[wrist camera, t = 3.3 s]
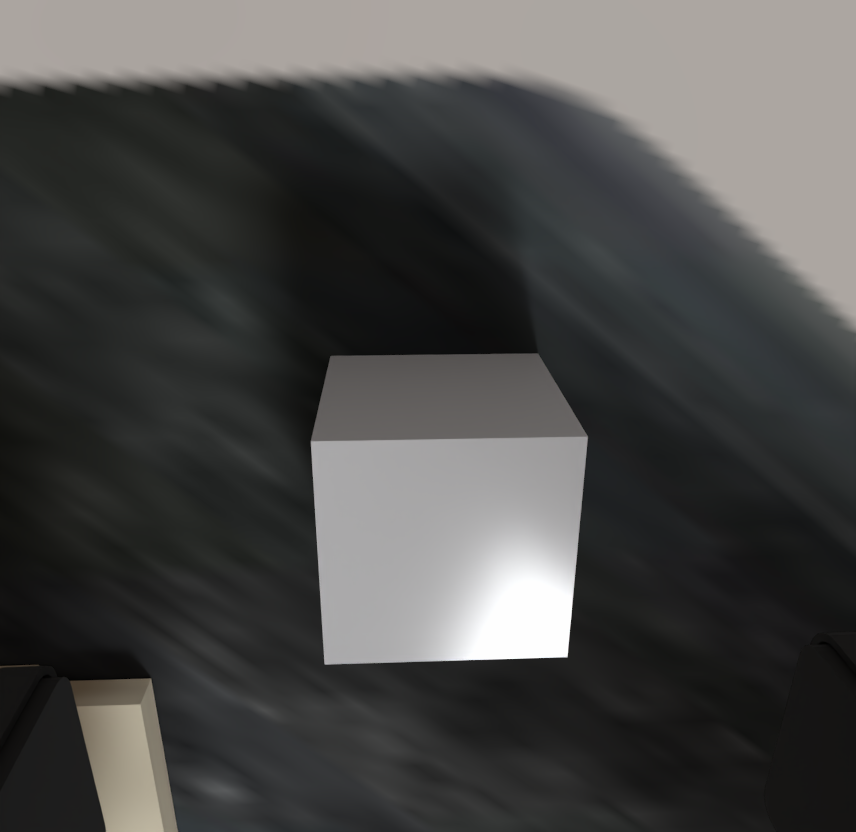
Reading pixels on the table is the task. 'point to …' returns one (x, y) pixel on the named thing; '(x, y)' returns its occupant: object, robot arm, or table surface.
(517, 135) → the table surface
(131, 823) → the frame
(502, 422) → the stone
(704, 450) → the table surface
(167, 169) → the table surface
